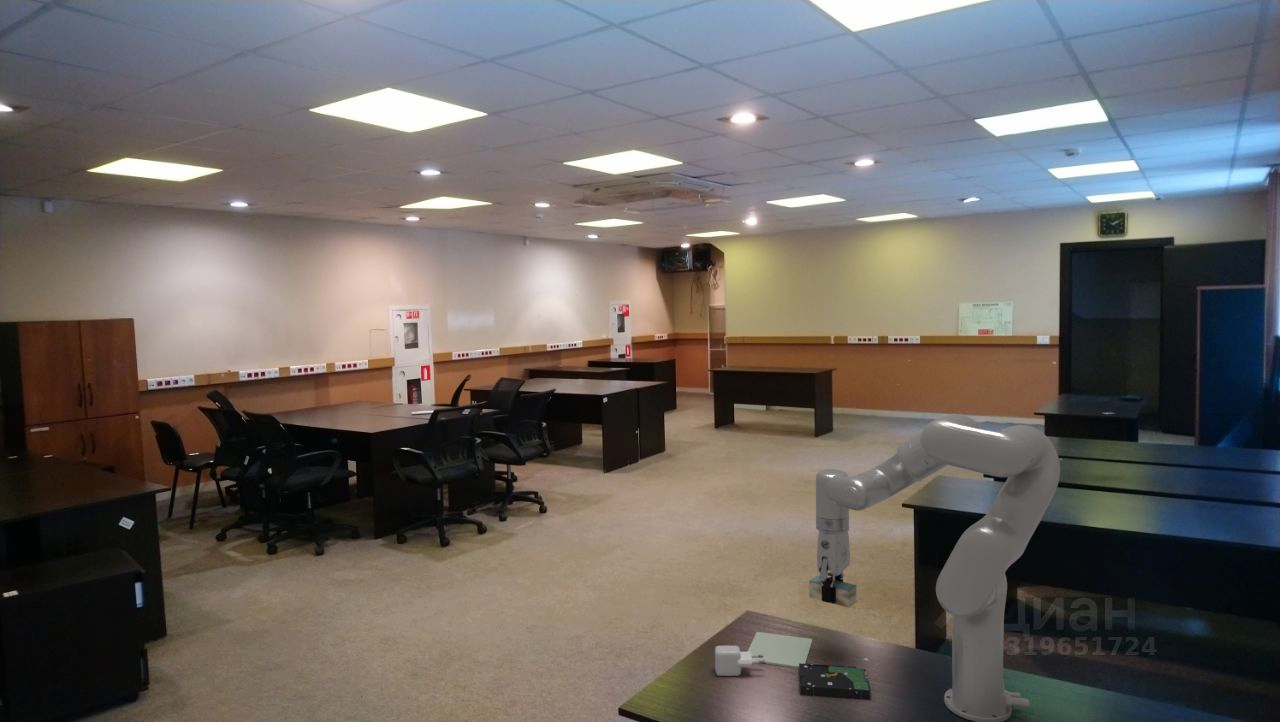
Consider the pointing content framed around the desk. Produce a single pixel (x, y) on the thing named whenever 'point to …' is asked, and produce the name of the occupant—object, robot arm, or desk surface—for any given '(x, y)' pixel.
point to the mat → (780, 649)
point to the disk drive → (834, 681)
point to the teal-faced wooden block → (843, 592)
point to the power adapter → (733, 660)
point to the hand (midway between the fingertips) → (832, 597)
